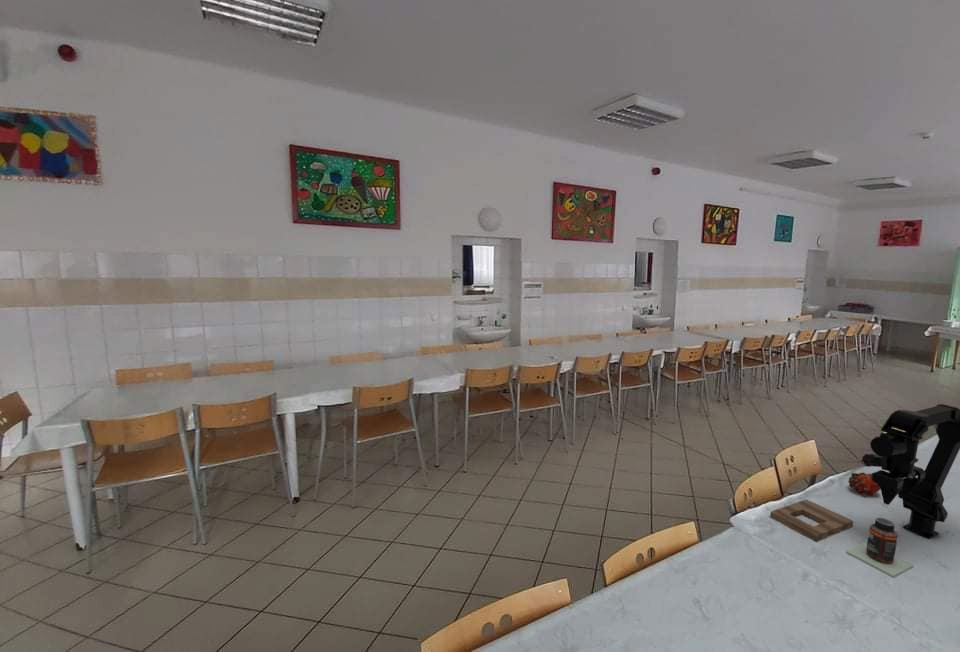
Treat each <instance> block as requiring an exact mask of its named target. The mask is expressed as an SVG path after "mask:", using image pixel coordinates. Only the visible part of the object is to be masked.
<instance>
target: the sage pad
mask: <svg viewBox="0 0 960 652" xmlns="http://www.w3.org/2000/svg"><path fill="white" fill-rule="evenodd" d="M867 542H868V541H865V542H863V543H860V544H857V546H854V547H852V548H850V549H848V550H846V551H845V553H846V554H848V555H849V556H852V557H853V558H855V559H857V560H859V561H861V562H863V563H865V564H866V565H868V566H870V567H872V568H874V569H876V570H878V571H879V572H882V573H884V574H886V575H888V576H889V577H891V578H896V577H898V576H899V575H901V574H903V573H905V572H907V571H909V570H911V569H913V568H914V567H915V566H914V564H913V563H911V562H909V561H907V560H905V559H903V558H901V557H898V556H897V555H895V556H894V561H893V562H892V563H882V562H880V561H877V560H875V559H873V558H871V557H870V556H869V555H868V554H867V553H866V549H867Z"/></svg>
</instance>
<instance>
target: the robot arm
mask: <svg viewBox="0 0 960 652" xmlns="http://www.w3.org/2000/svg"><path fill="white" fill-rule="evenodd" d="M935 425H936V429H935V431H936V434H937V437H938V442H937V444H936V446H935V448H934V450H933V453H932V454H931V457H930V459H929V461H928V463H927V466H926V467H925V469H923V468H922V467H919V466H915V463H918V462H919V458H917V452H918V448H919V447H918V446H919V442H920V441H921V440H923V436H924V434H925V433H926V432H928V431H929V427H930V426H931V427H932V426H935ZM880 431H881V433H880V435H879V436H875V437H873V439H871V441H870V442H869V443H870V448H871V450H872V452H874V453H870V454H868V453H866V454H863V455H862V456H861V462H862V463H863V464H864V466H865V467H867V468H868V467H869V468H870V467H877V468H881V469H880V470H877V471H874V472H872V473H870V474H871V480H873V481H874V482H875V483H877V484H878V485H879V486H880V492H881V496H882V500H883V501H882V502H883V504H884V505H888V506H889V505H890V504H891V503H892V502H893V500H894V499H895V498H896V496H897V495H898V496H897V497H898V498H899V499H901V500H902V506H903V508H904V509H908V510H910V516H909V521H908V523H906V524H905V525H903V527H902V528H904V529H905V530H909V531H910V532H913V533H915V534H917V535H919V536H921V537H925V539H926V538H927V539H932V538H934V537H937V536H938V535H940V532H938V531H936V530H935V529H936V524H937V523H938V522H939V523H940V522H942V523H944V522H945V521H946V519H947V518H948V510H946V508H945V506H944V501H945V497H944V495H943V492H942V487H943V485H944V483H945V481H946V478H947V477H948V475H949V473H950V470H951V469H952V466H953V464H954V462H955V460H956V458H957V456H958V454H959V452H960V408H959V407H955V406H952V405H948V404H943V403H941V404H940V403H938V404H937V405H935V406H932V407H928V408H923V409H920V410H915V411H913V410H908V409H907V410H906V409H897V410H895V411H894V412H892V413H891V414H890V416H889V417H888V418H887V420H886V421H885V423H884V424H883V426H882V427H881V429H880ZM936 522H937V523H936Z"/></svg>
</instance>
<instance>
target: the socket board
mask: <svg viewBox="0 0 960 652" xmlns="http://www.w3.org/2000/svg"><path fill="white" fill-rule="evenodd" d="M799 516H804V517H805V516H806V517H805V518H807V517H808V519H809V518H810V520H811V519H812V520H811V521H813V520H814V521H813V522H815V521H816V523H817V524H816V525H812V524H810V523H807V522H805V521H804V520H802V519H800V518H797V517H799ZM769 517H770V518H771V519H773V520H775V521H777V522H779V523H780V524H783V525H784V526H786V527H788V528H790V529H791V530H793V531H796V532H797V533H799V534H800V535H803V536H805V537H806V536H807V537H806V538H808V537H809V538H808V539H810V538H811V540H812V539H813V541H814V542H816V543H817V542H819V540H820V541H822V540H825V539H826V537H827V538H829V537H831V535H832V536H833V534H834V535H836V534H838V532H839V533H841V532H843V531H846V530H848V529H850V527H851V528H853V525H854V520H852V519H851V518H848V517H846V516H844V515H842V514H839V513H837V512H836V511H833V510H830V509H828V508H826V507H824V506H822V505H820V504H817V503H815V502H813V501H811V500H809V499H803V500H800V501H797V502H794V503H792V504H789V505H786V506H783V507H780V508H778V509H774V510H772V511H770V516H769ZM845 529H846V530H845ZM842 530H843V531H842ZM840 531H841V532H840ZM835 533H836V534H835ZM828 536H829V537H828Z"/></svg>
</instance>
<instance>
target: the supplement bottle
mask: <svg viewBox="0 0 960 652" xmlns="http://www.w3.org/2000/svg"><path fill="white" fill-rule="evenodd" d="M874 520H875V521H874V523H872V524H870V525H869V530H868V536H867V541H866V542H867V549H866V553H867V554H868V555H869V556H870V557H871V558H873V559H875V560H877V561H880V562H882V563H892V562H893V561H894V556H896V548H897V542H898V536H899V535H898V532H897V531H896V530H895V523H894V522H893V521H891V520H889V519H886V518H884V517H876V518H875V519H874Z"/></svg>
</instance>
